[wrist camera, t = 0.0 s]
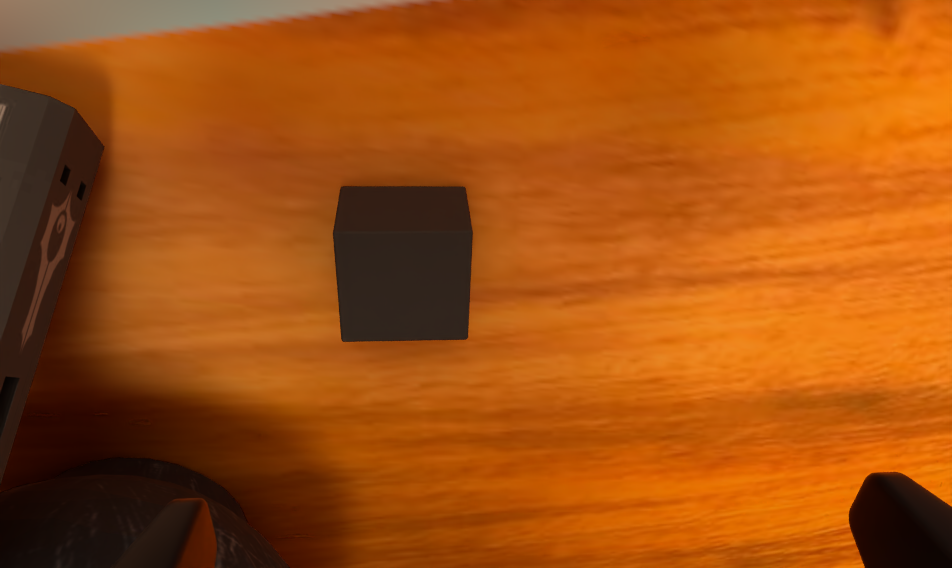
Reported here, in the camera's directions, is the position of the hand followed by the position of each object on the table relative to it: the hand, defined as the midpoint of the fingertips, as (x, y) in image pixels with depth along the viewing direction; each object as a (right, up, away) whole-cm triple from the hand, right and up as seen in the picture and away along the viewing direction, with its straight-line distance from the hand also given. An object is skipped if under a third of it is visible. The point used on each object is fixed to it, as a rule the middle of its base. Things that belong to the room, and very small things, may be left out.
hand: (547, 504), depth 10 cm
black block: (-3, +4, +14) cm, 15 cm away
